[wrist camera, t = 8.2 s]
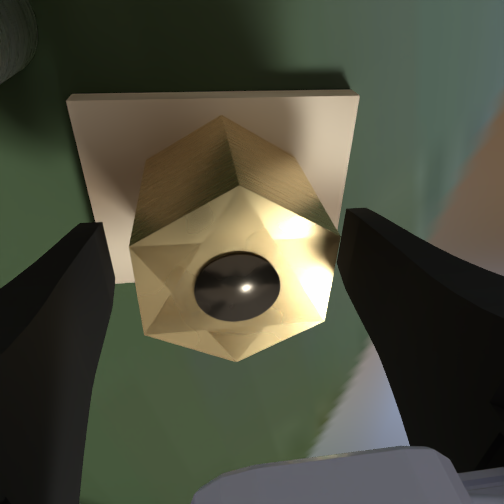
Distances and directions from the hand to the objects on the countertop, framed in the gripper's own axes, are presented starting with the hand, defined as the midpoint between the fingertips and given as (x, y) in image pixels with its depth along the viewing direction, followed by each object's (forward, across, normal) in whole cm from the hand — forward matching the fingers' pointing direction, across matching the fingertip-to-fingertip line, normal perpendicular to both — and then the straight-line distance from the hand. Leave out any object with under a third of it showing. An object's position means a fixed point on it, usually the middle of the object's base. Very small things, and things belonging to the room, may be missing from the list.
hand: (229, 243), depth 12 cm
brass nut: (+3, 0, 0) cm, 3 cm away
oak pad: (+4, 0, 0) cm, 4 cm away
